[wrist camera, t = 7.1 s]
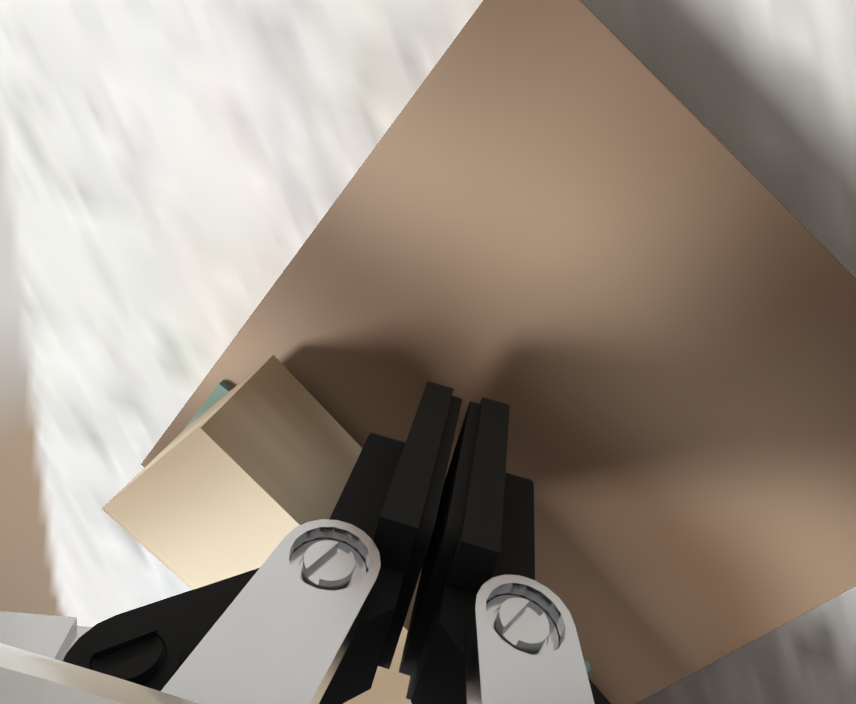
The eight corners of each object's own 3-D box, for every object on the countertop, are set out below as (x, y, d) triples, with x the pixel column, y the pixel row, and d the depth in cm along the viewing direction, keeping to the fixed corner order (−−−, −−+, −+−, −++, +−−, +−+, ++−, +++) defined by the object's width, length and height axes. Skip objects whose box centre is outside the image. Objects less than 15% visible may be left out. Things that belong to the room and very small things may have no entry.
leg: (621, 722, 15) (648, 896, 12) (527, 754, 16) (528, 922, 13) (273, 354, 12) (180, 448, 9) (188, 425, 13) (78, 531, 10)
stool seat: (539, 676, 19) (540, 762, 16) (193, 415, 17) (136, 469, 14) (965, 415, 13) (1063, 485, 11) (524, -24, 11) (524, -59, 9)
